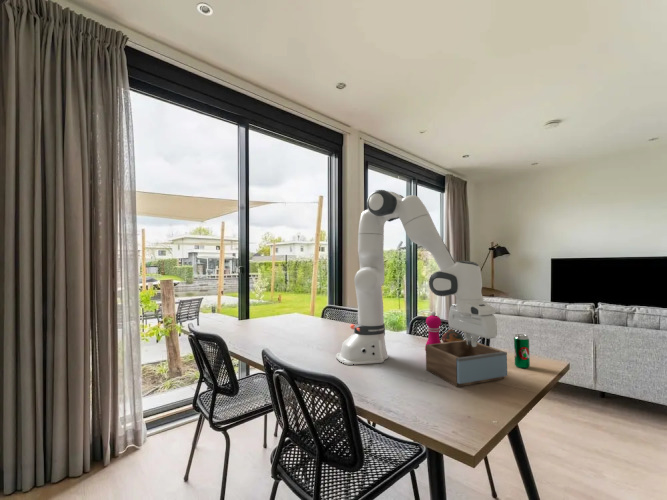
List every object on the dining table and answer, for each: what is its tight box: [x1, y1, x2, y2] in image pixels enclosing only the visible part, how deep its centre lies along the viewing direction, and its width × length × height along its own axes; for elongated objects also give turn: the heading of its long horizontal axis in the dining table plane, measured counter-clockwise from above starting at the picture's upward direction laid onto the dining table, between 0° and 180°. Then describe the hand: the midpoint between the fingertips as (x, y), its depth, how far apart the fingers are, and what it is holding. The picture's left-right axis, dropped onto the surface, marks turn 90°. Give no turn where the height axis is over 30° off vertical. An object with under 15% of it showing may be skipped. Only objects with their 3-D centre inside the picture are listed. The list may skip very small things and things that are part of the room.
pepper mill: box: [424, 311, 442, 352], centre depth 134 cm, size 7×7×20 cm
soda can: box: [513, 333, 531, 370], centre depth 125 cm, size 5×5×12 cm
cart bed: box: [425, 339, 505, 388], centre depth 118 cm, size 20×17×10 cm
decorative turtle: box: [441, 328, 465, 343], centre depth 151 cm, size 10×15×8 cm, turn 170°
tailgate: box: [456, 350, 508, 384], centre depth 109 cm, size 20×1×8 cm, turn 109°
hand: (471, 345), depth 114 cm, fingers closed
